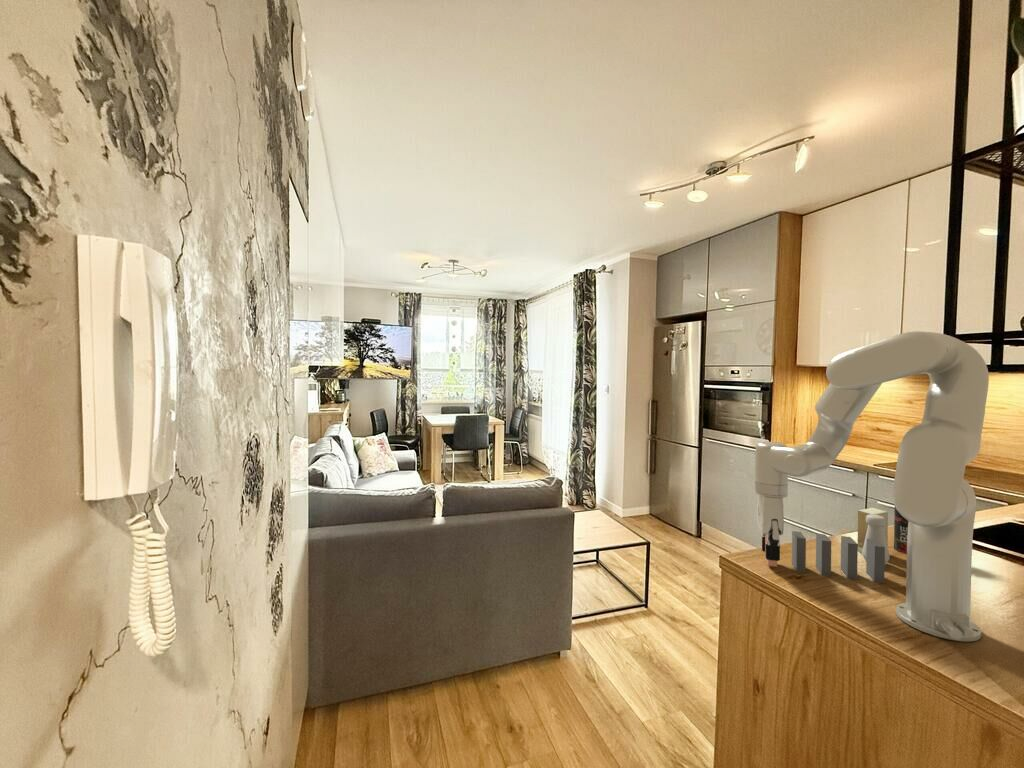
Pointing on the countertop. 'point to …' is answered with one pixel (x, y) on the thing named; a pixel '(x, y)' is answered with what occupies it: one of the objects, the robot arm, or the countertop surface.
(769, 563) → the head tile
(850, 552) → the tile
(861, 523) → the skincare box
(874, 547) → the tile
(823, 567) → the tile
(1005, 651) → the countertop surface
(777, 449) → the robot arm
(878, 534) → the salt shaker
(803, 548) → the tile
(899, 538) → the deodorant
